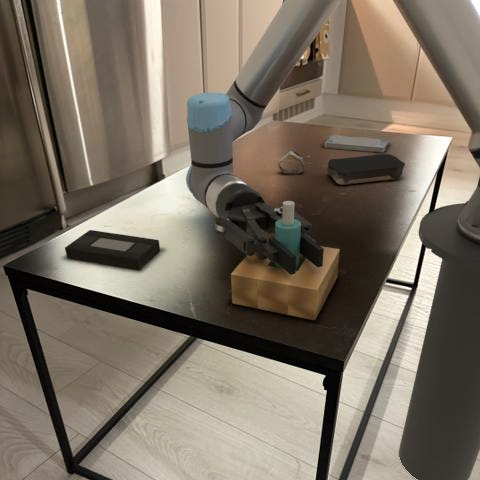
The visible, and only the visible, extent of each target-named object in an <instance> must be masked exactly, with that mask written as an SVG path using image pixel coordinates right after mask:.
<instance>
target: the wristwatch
mask: <svg viewBox="0 0 480 480" xmlns="http://www.w3.org/2000/svg"><path fill="white" fill-rule="evenodd" d="M289 157H292V158H294V159H295V160H297V161H299V162H300V163H301V168H299V170H294V169H287V168H283V167H282V166H281V163H282V162H284V161H285V160H286V159H287V158H289ZM277 167H278V169H279V170H280V171H281V172H282V173H283V174H286V175H297V174H301V173H302V172H303V171H304V169H305V163H304V160H303V157H302V156H301V155H300V154H299V153H298V152H295V151H292V150H291V151H288V152H287V153H285V155H283V157H281V158H280V159H279V160H278V162H277Z"/></svg>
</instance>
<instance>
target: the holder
mask: <svg viewBox="0 0 480 480" xmlns="http://www.w3.org/2000/svg"><path fill="white" fill-rule="evenodd" d="M269 238H270V237H267V241H268V242H269ZM319 246H320V247H322V248H323V249H324V252H323V266H322V267H317V266H315V265H314V264H313V263H311V262H310V261H309V260H308V259H306V258H305V257H304V256H303V255H301V254H300V259H299V270H298V271H296V274H292V275H290V274H289V273H288V272H287V271H286V270H285V269H282V268H277V267H275V261H274V262H272V261H270V260H269V259H268V258H267V259H265V260H261V259H259V253H258V252H255V253H254V255H252V256H247V255H246V256H245V257H244V258H243V259H242V261H241V262H239V264H238V265H237V266H236V267H235V268H234V270H233V271H232V272H231V273H230V281H231V282H230V283H231V284H230V285H231V303H232V304H233V305H238V306H243V307H247V308H253V309H258V310H263V311H267V312H271V313H277V314H282V315H285V316H291V317H296V318H301V319H306V320H310V321H316V320H317V318H318V316H319V314H320V312H321V310H322V308H323V307H324V304H325V302H326V301H327V298H328V296H329V295H330V293H331V290H332V289H333V286H334V285H335V283H336V281H337V279H338V273H339V262H340V254H341V253H340V250H341V249H340V248H334V247H329V246H323V245H319Z"/></svg>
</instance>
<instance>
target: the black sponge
mask: <svg viewBox="0 0 480 480" xmlns="http://www.w3.org/2000/svg"><path fill="white" fill-rule="evenodd" d="M327 163H328V164H327V167H326V171H327V174H328V175H329V176H330V177H331V179H332V180H333V181H334V182H335V183H336V184H338V185H341V186H345V185H347V186H348V185H353V184H354V185H355V184H364V183H372V182H380V181H390V180H392V181H393V180H397V179H400V178H401V177H402V175H403V171H404V168H405V166H406V163H405V162H404V161H402V160H400V159H399V158H398V157H397V156H395V155H393V154H389V153H379V154H370V155H369V154H368V155H362V156H361V155H360V156H352V157H343V158H332V159H329V160H328V162H327Z"/></svg>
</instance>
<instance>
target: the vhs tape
mask: <svg viewBox="0 0 480 480" xmlns="http://www.w3.org/2000/svg"><path fill="white" fill-rule="evenodd" d="M160 245H161V244H160V240H159V239H154V238H148V237H141V236H135V235H127V234H121V233H114V232H106V231H101V230H94V229H89V230H88V231H86V232H85V233H84V234H82V235H81V236H79V237H78V238H76V239H74V240H73V241H71V243H69V244H68V245H66V246H65V247H64V250H65V255H66V258H68V259H74V260H80V261H86V262H91V263H97V264H102V265H103V264H104V265H109V266H113V267H114V266H115V267H119V268H127V269H132V270H138V271H139V270H141V269H142V268H143V267H144V266H145V265H147V264H148V263H149V262H150V261H151V260H152V259H153V258H154V257H155V256H156V255H157V254H158V253H159V252H160V251H161V246H160Z"/></svg>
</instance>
